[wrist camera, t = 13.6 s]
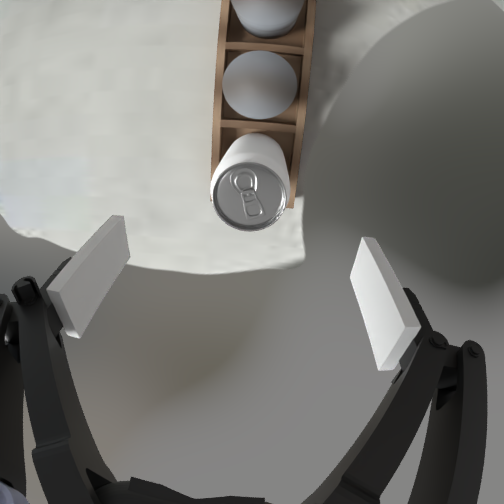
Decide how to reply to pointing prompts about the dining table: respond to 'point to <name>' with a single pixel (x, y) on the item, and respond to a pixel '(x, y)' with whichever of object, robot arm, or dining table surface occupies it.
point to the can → (251, 183)
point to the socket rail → (275, 124)
